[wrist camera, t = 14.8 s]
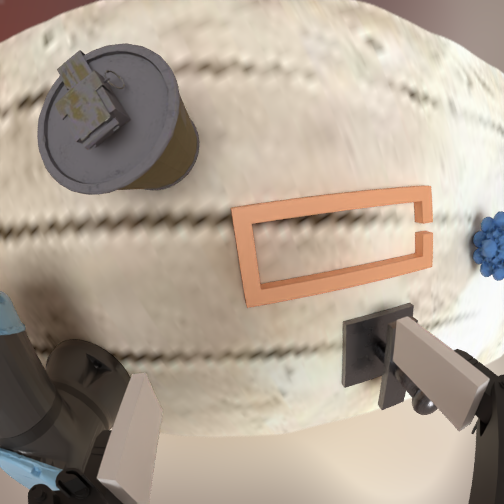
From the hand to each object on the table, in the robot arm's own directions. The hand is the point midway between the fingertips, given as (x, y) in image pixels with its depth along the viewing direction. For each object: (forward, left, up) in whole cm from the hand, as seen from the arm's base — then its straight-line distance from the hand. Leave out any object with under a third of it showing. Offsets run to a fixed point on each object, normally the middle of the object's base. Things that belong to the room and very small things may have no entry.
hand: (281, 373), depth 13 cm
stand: (+19, -18, -23) cm, 34 cm away
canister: (-8, +15, -23) cm, 29 cm away
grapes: (+40, -4, -23) cm, 46 cm away
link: (+13, 0, -23) cm, 27 cm away
